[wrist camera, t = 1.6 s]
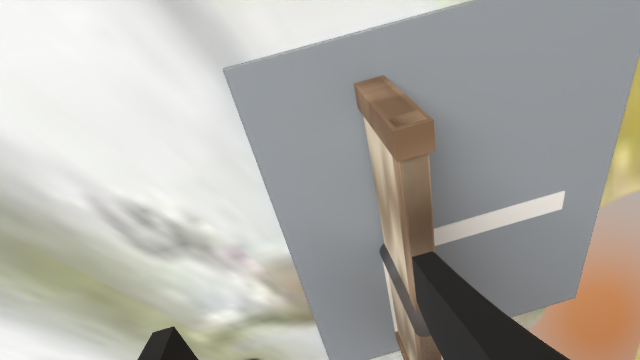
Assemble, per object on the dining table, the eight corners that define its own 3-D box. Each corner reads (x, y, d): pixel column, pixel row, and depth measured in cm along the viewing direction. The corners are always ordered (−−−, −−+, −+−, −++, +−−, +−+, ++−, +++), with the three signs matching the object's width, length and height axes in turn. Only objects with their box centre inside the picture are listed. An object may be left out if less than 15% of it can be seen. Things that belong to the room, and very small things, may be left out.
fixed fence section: (415, 334, 28) (450, 414, 23) (395, 340, 28) (426, 421, 23) (403, 236, 22) (447, 315, 18) (377, 243, 22) (414, 324, 17)
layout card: (571, 293, 30) (576, 298, 29) (332, 365, 29) (333, 371, 29) (658, -50, 16) (668, -51, 16) (223, 68, 16) (222, 71, 15)
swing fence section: (403, 237, 22) (443, 308, 18) (380, 243, 22) (415, 316, 17) (383, 74, 16) (433, 119, 12) (353, 83, 16) (392, 131, 12)
